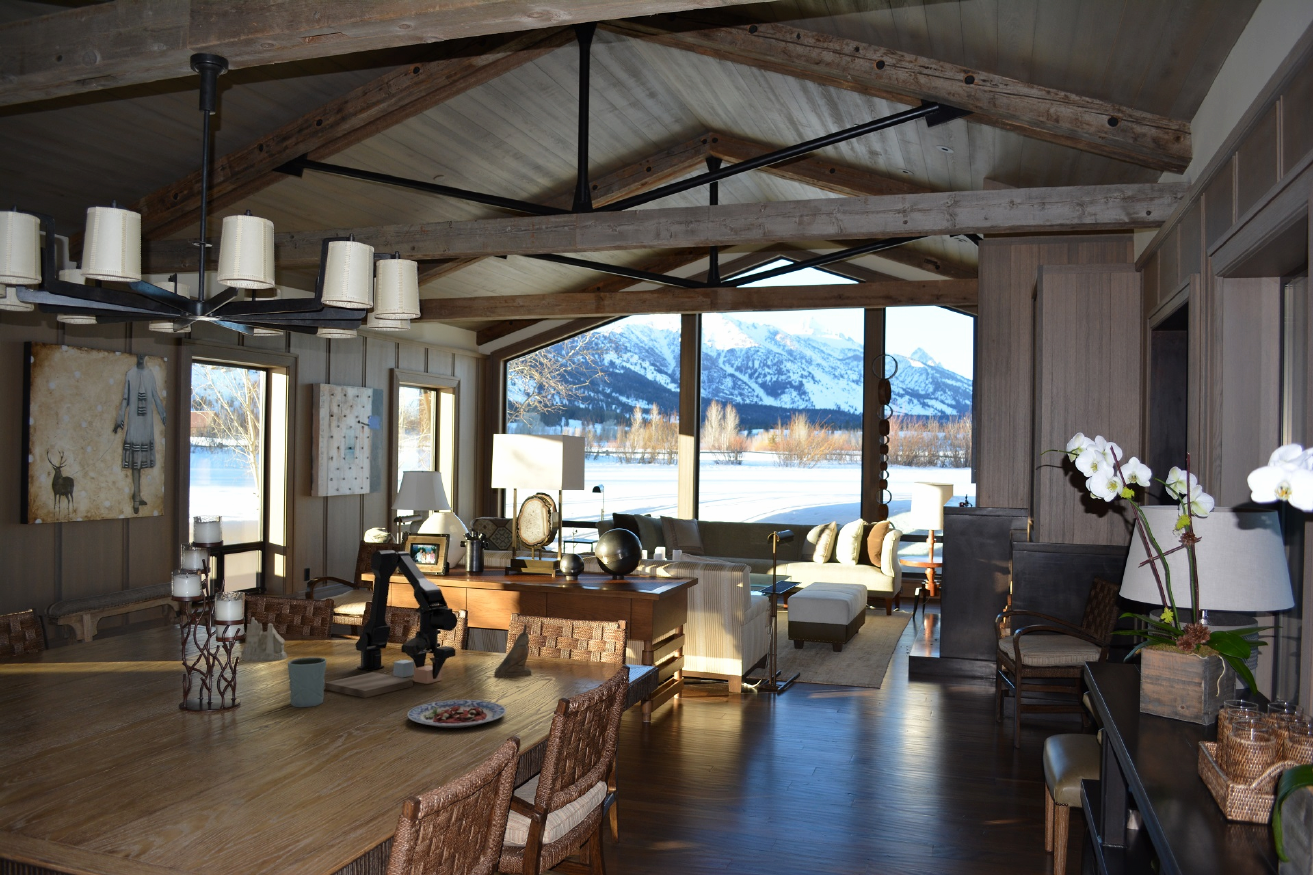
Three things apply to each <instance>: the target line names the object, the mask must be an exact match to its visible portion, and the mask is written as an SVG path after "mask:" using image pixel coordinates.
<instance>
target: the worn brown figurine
mask: <svg viewBox="0 0 1313 875" xmlns="http://www.w3.org/2000/svg"><path fill="white" fill-rule="evenodd" d="M527 630H528V626H527V624H526V623H525V624H524V627H523V631H522V632H521V633H520V634H519V635H517V638H516V639H515V641H514V643H513V645H512V648H510V650H509V652H508V653H507V655H506V656H505V658H504V659H503V660H502V661H501V663H500V664H499V665H498V667H496V669H495V671H494V677H495V678H514V677H515V678H516V677H517V678H518V677H520V678H521V677H528V675H531V676H532V670H531V669H530V668H529V667H526V663H527V660H528V657H529V644H530V635H529V633H528V632H527Z"/></svg>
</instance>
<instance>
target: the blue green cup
mask: <svg viewBox="0 0 1313 875" xmlns="http://www.w3.org/2000/svg"><path fill="white" fill-rule="evenodd" d="M287 667H288V669H287V670H288V677H289V678H288V679H289V691H290V693H289V694H290V695H289V696H290V698H289V699H290V705H291V706H292V707H296V708H310V707H315V706H320V705H322V704H323V702H324V695H325V694H324V693H325V692H324V689H325V676H326V671H327V670H326V669H327V659H326V658H324V657H319V656H317V657H316V656H315V657H313V656H310V657H300V658H299V657H298V658H295V659H291V660H289V661H288V662H287Z"/></svg>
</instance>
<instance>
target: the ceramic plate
mask: <svg viewBox="0 0 1313 875" xmlns="http://www.w3.org/2000/svg"><path fill="white" fill-rule="evenodd" d="M506 713H507V709H506V707H505V706H503V705H502V704H499V703H496V702H491V701H486V700H477V699H454V700H453V699H452V700H450V699H449V700H443V701H435V702H430V703H425V704H421V705H418V706H415V707H413V708H411V709H410V710H409V711H408V712H407V718H408V719H409V720H411V721H412V722H416V723H419V724H422V725H428V726H432V727H435V728H436V727H437V728H445V729H447V728H452V729H457V728H469V727H473V726H479V725H481V724H482V725H483V724H485V723H487V722H492V721H496V720H498V719H500V718H501V717H504V716H505V714H506Z"/></svg>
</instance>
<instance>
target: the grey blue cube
mask: <svg viewBox="0 0 1313 875" xmlns="http://www.w3.org/2000/svg"><path fill="white" fill-rule="evenodd" d="M414 668H415V663H414V660H410V659H401V660H397V661H396V660H395V661H393V674H392V676H396V677H401V678H406V677H412V676H414Z"/></svg>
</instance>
